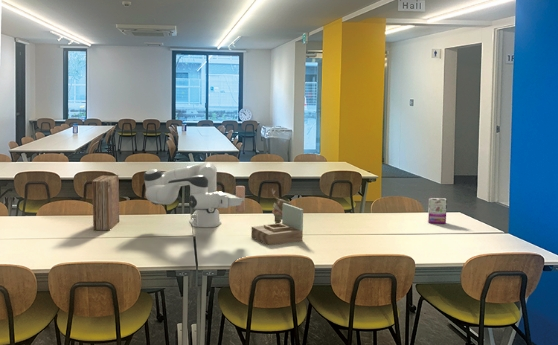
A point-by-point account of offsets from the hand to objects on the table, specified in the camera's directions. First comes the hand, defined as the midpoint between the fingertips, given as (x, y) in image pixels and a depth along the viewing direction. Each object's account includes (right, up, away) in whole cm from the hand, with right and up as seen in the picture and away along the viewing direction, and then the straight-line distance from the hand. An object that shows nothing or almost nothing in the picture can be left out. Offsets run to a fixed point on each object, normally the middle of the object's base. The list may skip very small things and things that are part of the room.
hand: (241, 197), depth 307 cm
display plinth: (+20, -24, +6) cm, 31 cm away
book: (-84, -19, +28) cm, 91 cm away
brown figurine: (+21, -21, +30) cm, 43 cm away
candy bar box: (+125, -19, +56) cm, 138 cm away
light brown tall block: (-1, -8, +1) cm, 8 cm away
